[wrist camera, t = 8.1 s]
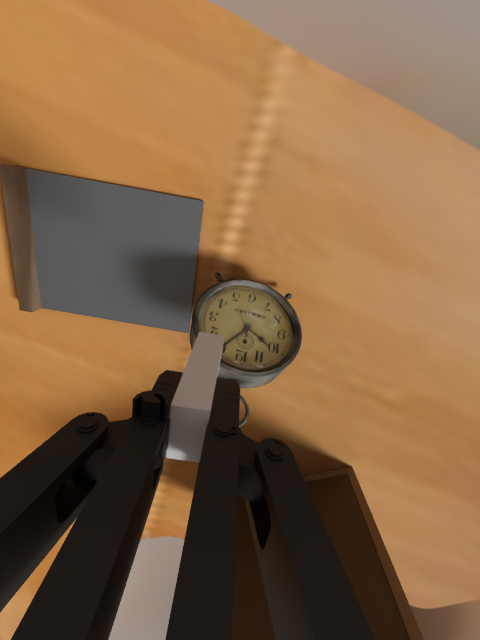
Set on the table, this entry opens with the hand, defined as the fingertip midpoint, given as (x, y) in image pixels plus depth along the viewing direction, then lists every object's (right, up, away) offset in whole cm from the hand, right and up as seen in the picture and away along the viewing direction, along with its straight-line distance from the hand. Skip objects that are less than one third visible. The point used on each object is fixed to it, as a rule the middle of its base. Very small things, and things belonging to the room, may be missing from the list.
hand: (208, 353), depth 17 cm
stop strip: (-23, +11, +16) cm, 30 cm away
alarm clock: (+3, +6, +16) cm, 18 cm away
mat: (-13, +9, +16) cm, 23 cm away
